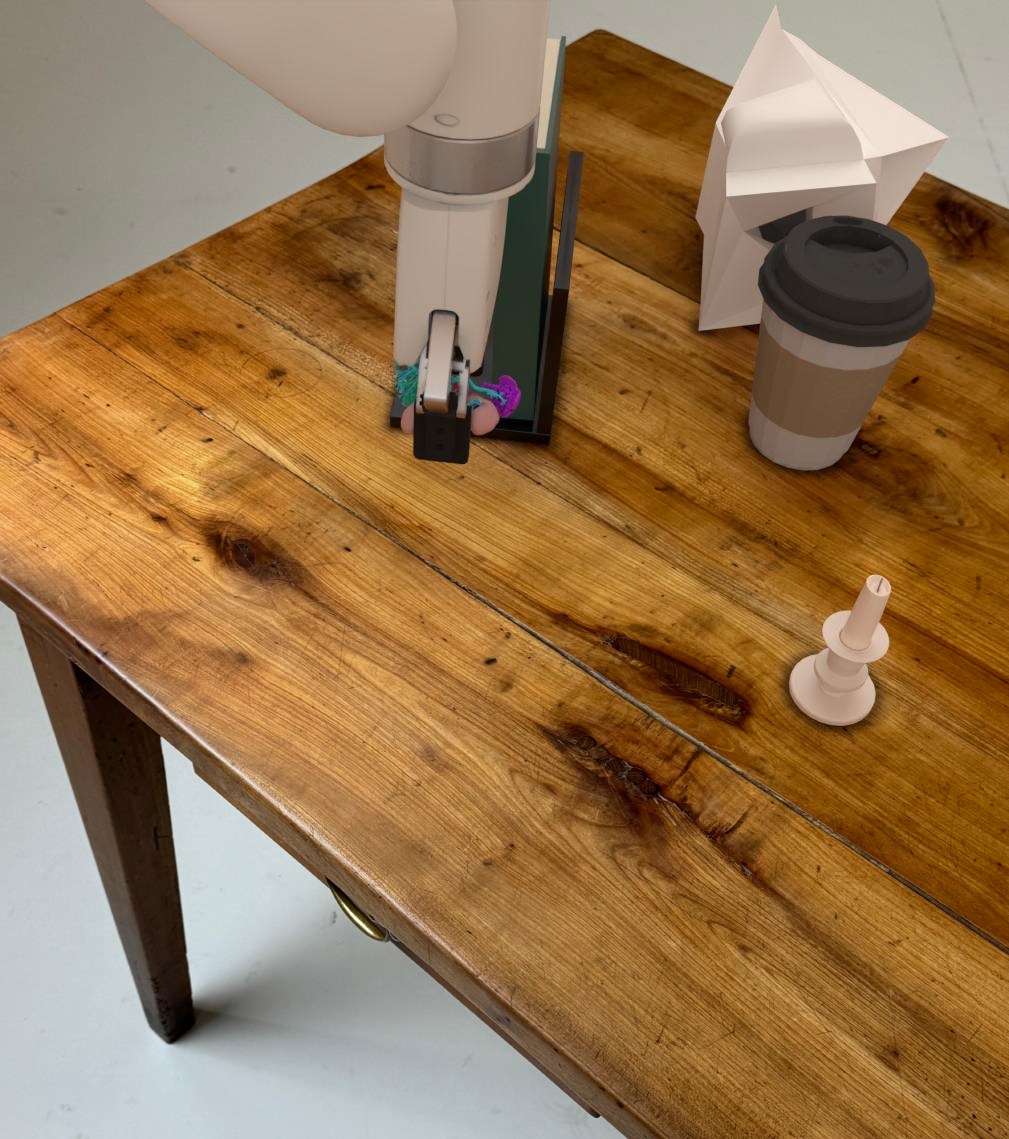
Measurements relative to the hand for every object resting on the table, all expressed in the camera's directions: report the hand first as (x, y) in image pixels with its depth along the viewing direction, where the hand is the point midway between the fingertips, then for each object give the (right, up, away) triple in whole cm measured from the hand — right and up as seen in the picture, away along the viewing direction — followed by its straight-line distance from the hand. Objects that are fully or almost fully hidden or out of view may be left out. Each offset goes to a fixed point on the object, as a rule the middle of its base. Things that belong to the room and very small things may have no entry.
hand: (449, 412), depth 77 cm
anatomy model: (0, -1, +1) cm, 1 cm away
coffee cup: (+24, +1, +16) cm, 29 cm away
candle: (+23, -17, +2) cm, 29 cm away
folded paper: (+26, +19, +29) cm, 43 cm away
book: (+3, +14, +9) cm, 17 cm away
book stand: (+2, +7, +18) cm, 20 cm away
